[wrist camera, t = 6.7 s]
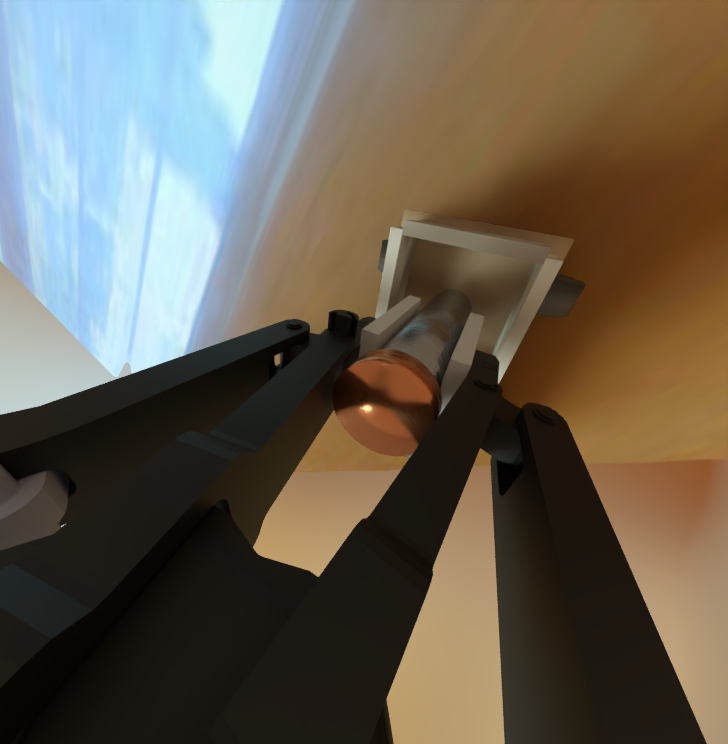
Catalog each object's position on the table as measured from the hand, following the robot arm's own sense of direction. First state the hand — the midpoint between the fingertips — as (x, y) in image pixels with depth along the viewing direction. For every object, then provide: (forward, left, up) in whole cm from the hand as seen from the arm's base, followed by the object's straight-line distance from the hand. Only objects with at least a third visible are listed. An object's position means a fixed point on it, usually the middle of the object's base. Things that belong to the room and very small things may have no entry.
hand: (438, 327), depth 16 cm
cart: (+5, 0, -14) cm, 15 cm away
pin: (0, 0, -4) cm, 4 cm away
